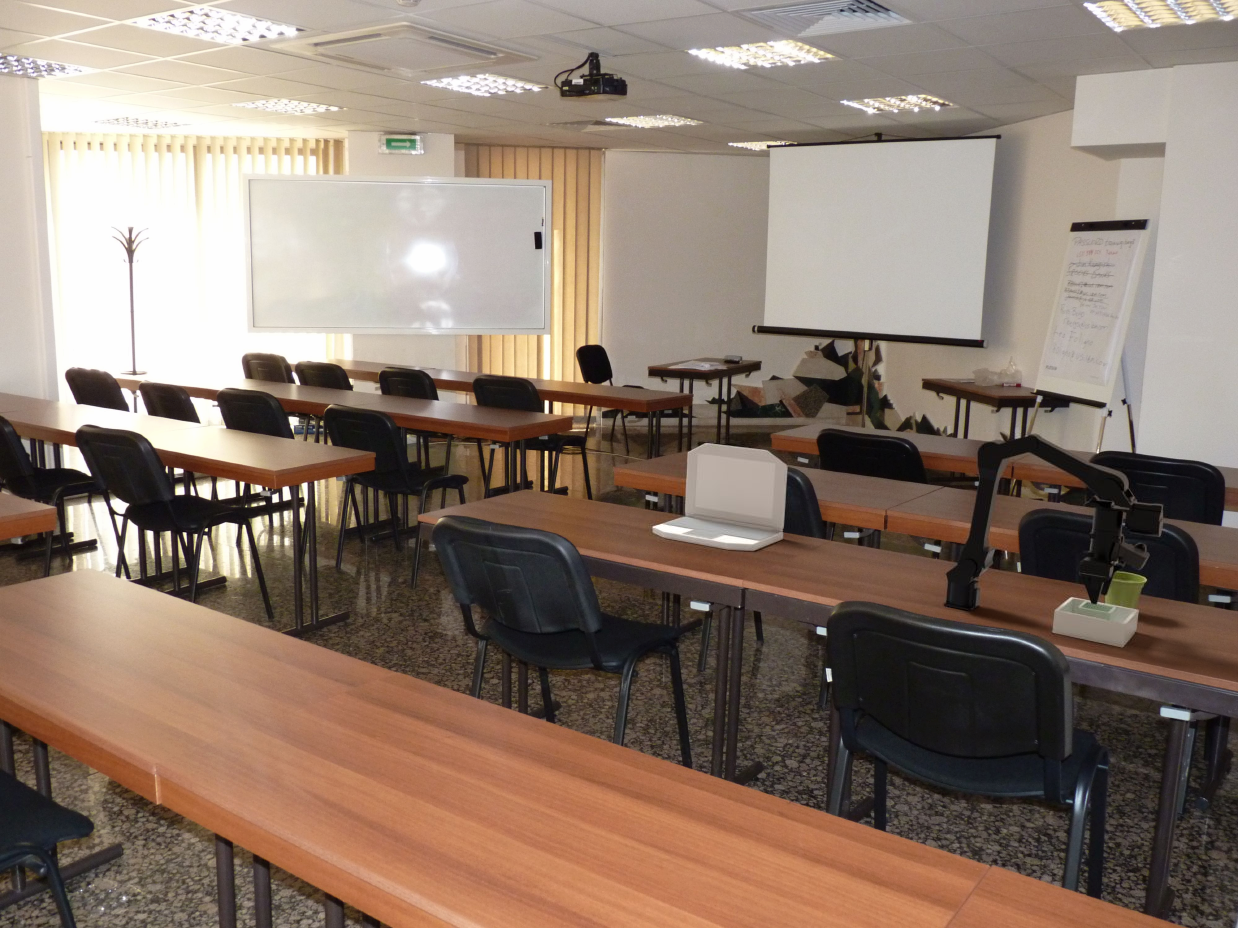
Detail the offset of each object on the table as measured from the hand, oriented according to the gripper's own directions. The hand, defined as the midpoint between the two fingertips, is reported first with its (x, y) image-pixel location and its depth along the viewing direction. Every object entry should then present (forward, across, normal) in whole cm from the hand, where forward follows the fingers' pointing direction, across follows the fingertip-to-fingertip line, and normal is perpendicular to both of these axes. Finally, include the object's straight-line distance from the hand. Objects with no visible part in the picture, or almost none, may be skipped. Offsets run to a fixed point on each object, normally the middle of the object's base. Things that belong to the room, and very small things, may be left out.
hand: (1099, 599), depth 217 cm
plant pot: (+8, +21, -1) cm, 22 cm away
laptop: (+8, +18, +109) cm, 111 cm away
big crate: (+7, 0, 0) cm, 7 cm away
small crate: (+7, 0, 0) cm, 7 cm away
